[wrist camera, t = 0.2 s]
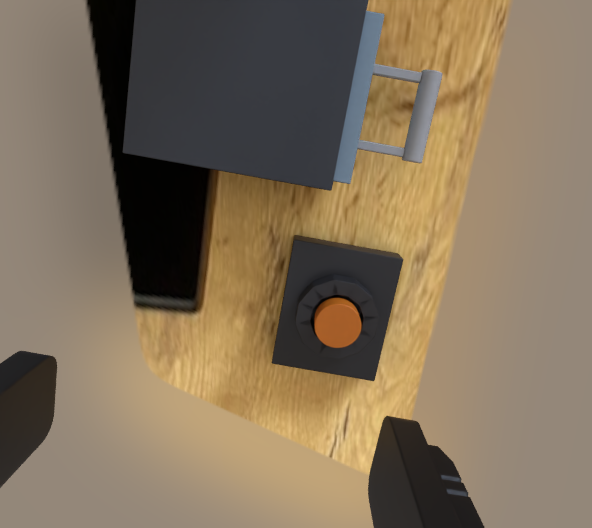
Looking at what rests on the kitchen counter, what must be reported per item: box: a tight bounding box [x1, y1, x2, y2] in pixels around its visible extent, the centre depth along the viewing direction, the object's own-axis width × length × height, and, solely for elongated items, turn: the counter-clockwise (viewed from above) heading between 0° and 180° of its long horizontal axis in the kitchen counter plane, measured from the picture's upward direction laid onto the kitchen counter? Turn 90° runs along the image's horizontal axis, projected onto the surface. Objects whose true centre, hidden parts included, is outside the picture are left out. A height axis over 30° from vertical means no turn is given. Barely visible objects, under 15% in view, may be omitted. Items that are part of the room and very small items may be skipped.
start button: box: [314, 298, 361, 348], centre depth 36 cm, size 4×4×2 cm
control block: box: [272, 235, 403, 381], centre depth 38 cm, size 11×9×4 cm
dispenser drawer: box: [333, 11, 442, 184], centre depth 32 cm, size 17×10×7 cm, turn 80°
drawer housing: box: [123, 0, 368, 191], centre depth 32 cm, size 14×12×9 cm
